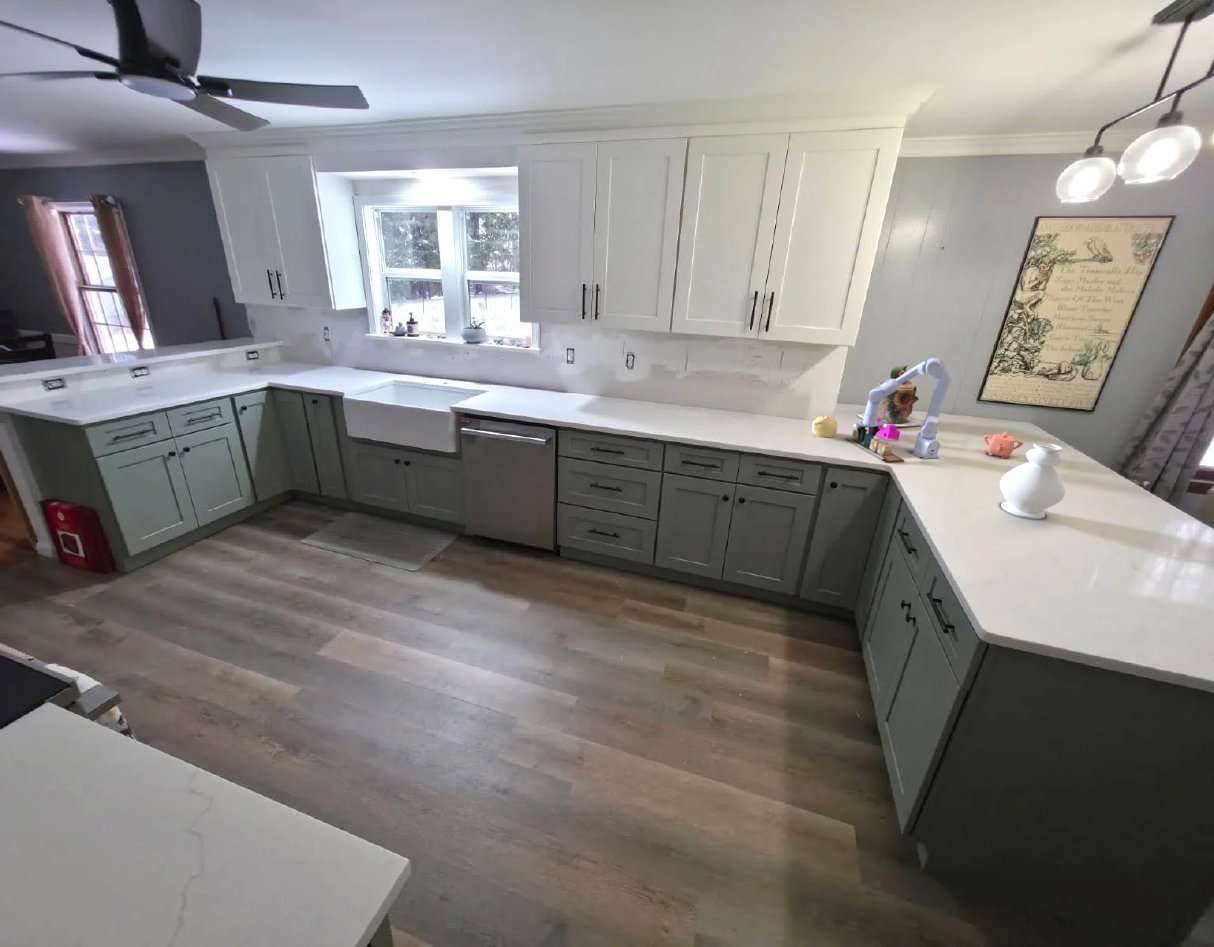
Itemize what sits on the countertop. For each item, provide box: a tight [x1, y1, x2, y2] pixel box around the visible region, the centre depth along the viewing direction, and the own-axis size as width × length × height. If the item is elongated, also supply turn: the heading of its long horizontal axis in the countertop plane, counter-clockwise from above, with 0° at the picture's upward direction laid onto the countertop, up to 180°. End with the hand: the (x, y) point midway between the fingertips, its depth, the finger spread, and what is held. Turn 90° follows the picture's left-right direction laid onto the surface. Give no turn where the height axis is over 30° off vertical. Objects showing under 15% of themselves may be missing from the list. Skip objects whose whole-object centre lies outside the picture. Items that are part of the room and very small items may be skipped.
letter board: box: [847, 429, 905, 464], centre depth 234 cm, size 31×8×6 cm, turn 9°
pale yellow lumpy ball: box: [811, 414, 838, 438], centre depth 251 cm, size 12×12×11 cm
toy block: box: [876, 417, 901, 441], centre depth 254 cm, size 15×6×8 cm, turn 7°
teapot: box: [983, 430, 1024, 459], centre depth 229 cm, size 14×12×10 cm
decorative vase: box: [999, 441, 1066, 520], centre depth 174 cm, size 18×18×25 cm
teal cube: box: [859, 432, 874, 445], centre depth 240 cm, size 4×4×4 cm
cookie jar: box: [857, 362, 923, 428], centre depth 272 cm, size 25×25×32 cm
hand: (865, 441), depth 241 cm, fingers closed on teal cube, 4 cm apart
